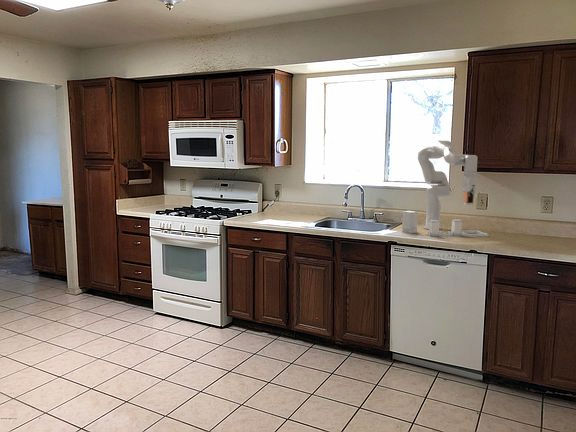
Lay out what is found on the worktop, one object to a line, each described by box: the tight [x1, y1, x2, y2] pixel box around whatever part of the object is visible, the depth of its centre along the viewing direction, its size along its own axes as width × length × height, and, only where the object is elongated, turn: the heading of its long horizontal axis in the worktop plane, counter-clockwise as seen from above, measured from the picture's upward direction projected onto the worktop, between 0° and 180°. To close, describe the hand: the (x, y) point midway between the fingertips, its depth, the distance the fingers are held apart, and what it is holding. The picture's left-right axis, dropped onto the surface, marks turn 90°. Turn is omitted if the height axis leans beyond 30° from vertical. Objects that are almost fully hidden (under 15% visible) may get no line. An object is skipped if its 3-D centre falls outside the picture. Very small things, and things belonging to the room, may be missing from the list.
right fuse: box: [450, 218, 463, 236], centre depth 305 cm, size 4×5×10 cm
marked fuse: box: [462, 191, 475, 206], centre depth 303 cm, size 4×5×10 cm
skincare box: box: [401, 210, 418, 234], centre depth 315 cm, size 8×7×16 cm
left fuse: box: [428, 220, 440, 236], centre depth 302 cm, size 4×5×10 cm
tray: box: [462, 229, 489, 238], centre depth 308 cm, size 14×14×3 cm
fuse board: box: [424, 230, 465, 238], centre depth 304 cm, size 10×24×4 cm, turn 100°
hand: (468, 201), depth 304 cm, fingers closed on marked fuse, 4 cm apart
